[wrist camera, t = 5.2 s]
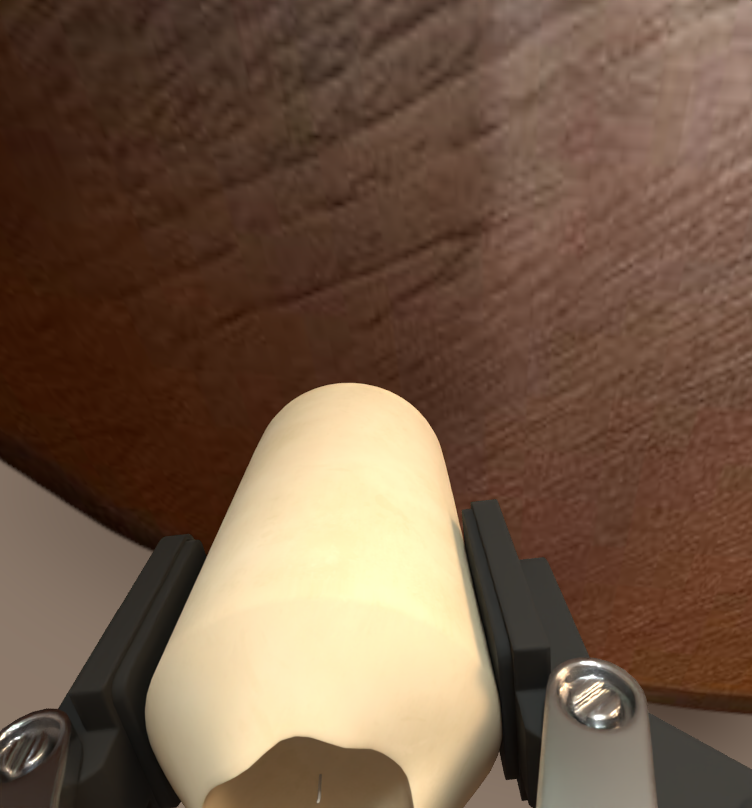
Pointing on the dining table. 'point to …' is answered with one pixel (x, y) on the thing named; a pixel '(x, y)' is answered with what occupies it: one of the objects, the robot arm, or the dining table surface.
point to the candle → (332, 626)
